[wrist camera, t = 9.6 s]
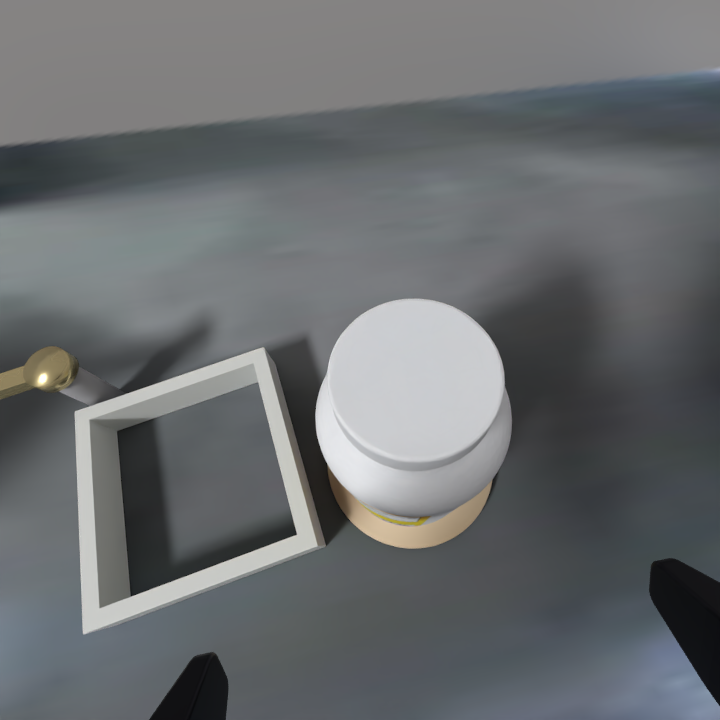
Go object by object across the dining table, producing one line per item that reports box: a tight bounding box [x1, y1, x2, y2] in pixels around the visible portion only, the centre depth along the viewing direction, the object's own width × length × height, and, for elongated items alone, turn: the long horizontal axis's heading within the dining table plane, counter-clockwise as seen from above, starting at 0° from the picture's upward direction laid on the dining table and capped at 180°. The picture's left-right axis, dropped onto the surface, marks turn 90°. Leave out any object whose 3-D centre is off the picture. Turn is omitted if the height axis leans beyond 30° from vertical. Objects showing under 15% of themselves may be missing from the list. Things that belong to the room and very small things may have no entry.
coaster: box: [327, 464, 492, 548], centre depth 23 cm, size 9×9×1 cm
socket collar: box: [59, 347, 326, 634], centre depth 22 cm, size 13×11×5 cm
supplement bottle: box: [315, 299, 512, 527], centre depth 17 cm, size 7×7×13 cm
